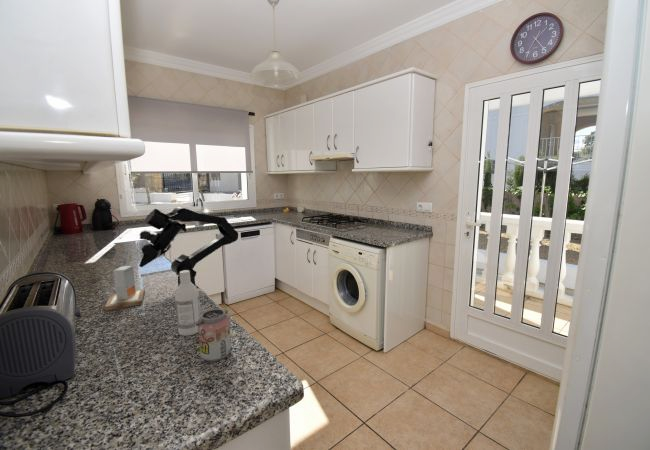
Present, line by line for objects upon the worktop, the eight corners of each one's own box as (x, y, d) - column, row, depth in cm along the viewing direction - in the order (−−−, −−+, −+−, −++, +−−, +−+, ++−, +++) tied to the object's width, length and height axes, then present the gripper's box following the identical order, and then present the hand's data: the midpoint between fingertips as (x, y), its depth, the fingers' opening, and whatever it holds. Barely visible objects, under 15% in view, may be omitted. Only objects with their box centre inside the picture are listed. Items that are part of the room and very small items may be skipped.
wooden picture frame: (145, 292, 131) (144, 288, 131) (142, 304, 119) (141, 300, 118) (111, 297, 126) (111, 293, 125) (105, 310, 113) (104, 306, 113)
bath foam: (191, 323, 102) (185, 267, 99) (206, 327, 99) (201, 269, 96) (173, 333, 96) (167, 273, 92) (189, 338, 93) (183, 276, 90)
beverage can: (193, 353, 85) (189, 313, 83) (220, 341, 91) (217, 303, 89) (209, 367, 79) (205, 324, 77) (237, 352, 85) (234, 312, 83)
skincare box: (127, 299, 119) (123, 270, 117) (116, 299, 119) (112, 270, 117) (136, 293, 125) (133, 265, 123) (126, 293, 125) (122, 265, 123)
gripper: (158, 220, 133) (136, 248, 133) (142, 224, 115) (116, 257, 114) (180, 235, 136) (158, 263, 135) (168, 241, 118) (142, 273, 117)
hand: (144, 263), depth 125 cm, fingers open, 9 cm apart
